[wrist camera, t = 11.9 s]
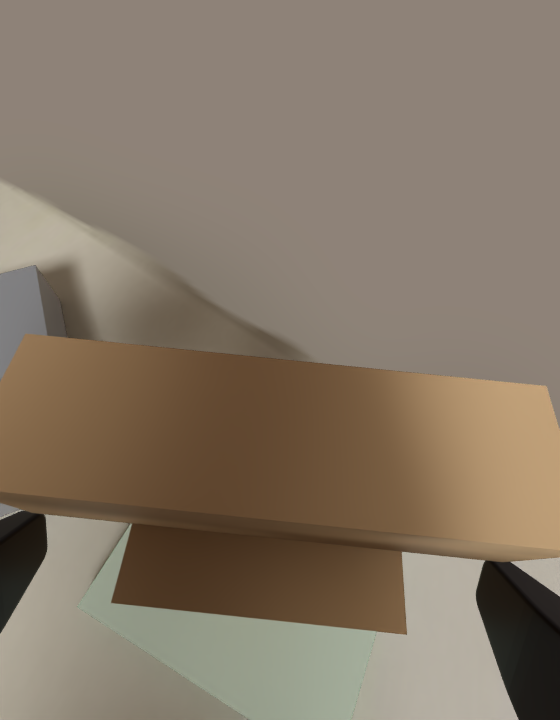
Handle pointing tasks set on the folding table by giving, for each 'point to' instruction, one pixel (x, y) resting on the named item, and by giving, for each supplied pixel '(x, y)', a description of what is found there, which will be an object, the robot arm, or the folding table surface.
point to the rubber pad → (243, 654)
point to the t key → (277, 474)
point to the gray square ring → (26, 317)
